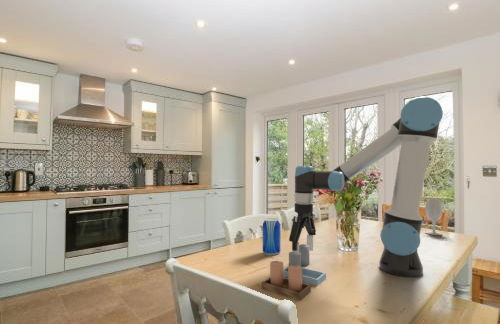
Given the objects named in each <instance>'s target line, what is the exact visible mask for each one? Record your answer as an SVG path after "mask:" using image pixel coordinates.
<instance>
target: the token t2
mask: <svg viewBox="0 0 500 324" xmlns="http://www.w3.org/2000/svg"><path fill="white" fill-rule="evenodd" d="M287 267H288V278H287V279H288V290H292V291H295V292H298V293H300V292H301V291H302V283H303V282H302V267H303V266H299V265H290V266H289V265H288V266H287Z"/></svg>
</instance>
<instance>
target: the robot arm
mask: <svg viewBox="0 0 500 324" xmlns="http://www.w3.org/2000/svg"><path fill="white" fill-rule="evenodd" d="M443 115H444V112H443V108H442V106H441V104H440V103H439V102H438V100H436V99H434V98H433V97H429V96H418V97H414V98H412V99H410V100H409V101H408V102H406V103H405V104H404V106H403V107H402V109H401V111H400V117H399V118H398V120H397V121H395V122H394V123H393V124H391V127H390V129H388V130H387V131H386V132H384V133H382V135H380V136H379V137H377V138H376V139H375V140H373V141H372V142H370V143H369V144H368V145H366V146H365V147H363V148H362V149H361V150H359V151H358V152H357V153H355V154H353V156H351V157H350V158H348V159H347V160H345V161H344V162H343V163H341V164H340V165H339V166H337V167H335V168H334V169H332V170H329V171H327V170H325V171H324V170H322V171H321V170H318V171H317V170H315V169H314V166H311V165H297V166H296V167H295V170H294V171H295V173H294V194H293V196H294V212H295V213H297V215H296V216H295V215H293V218H292V223H291V224H292V226H291V230H290V233H289V239H288V241H289V242H291V252H299V245H300V242H299V239H300V237H301V234H302V231H303V228H305V230H306V232H307V234H306V245H309V252H310V251H311V252H313V251H314V236H316V235H317V233H316V232H317V231H316V225H315V221H314V213H313V212H314V204H313V202H314V190H323V191H331V192H332V191H333V192H335V191H336V192H337V191H340V192H341V191H343V190H344V187H345V185H346V183H348V182H349V181H350V180H351V179H353V178H355V177H356V176H358V175H359V174H361V173H362V172H364V171H366V169H368V168H370V167H371V166H373V165H374V164H375V163H377V162H378V161H380V160H381V159H383V158H385V157H386V156H387V155H389V154H390V153H392V152H393V151H395V150H396V149H398V148H399V147H400V150H399V156H398V162H397V167H396V168H397V169H396V173H395V174H396V175H395V178H394V186H393V191H392V197H391V204H390V207H389V208H388V209H386V210H385V211H384V212H383V215H382V216H383V217H382V218H383V223H382V229H381V231H380V239H381V242H382V245H383V250H382V252H381V256H380V259H379V264H378V265H379V269H380V270H382V271H384V272H386V273H388V274H391V275H396V276H399V277H407V278H408V277H409V278H411V277H412V278H413V277H414V278H415V277H420V276H422V275H423V274H424V267H423V264H422V261H421V259H420V256H419V254H418V253H419V252H418V248H419V247H420V245H421V236H420V235H421V230H422V225H423V224H422V223H423V217H422V216H421V214H420V213H419V211H420V210H419V209H420V206H421V199H422V194H423V188H424V182H425V176H426V170H427V165H428V160H429V154H430V148H431V145H432V143H434V142H435V141H437V139H438V135H439V134H438V133H439V127H440V122H441V120H442V119H443Z"/></svg>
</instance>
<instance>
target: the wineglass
mask: <svg viewBox="0 0 500 324" xmlns="http://www.w3.org/2000/svg"><path fill="white" fill-rule="evenodd" d="M424 211H425V212H424V213H425V215H426V218H427V219H428V220H430V221H431V222H432V230H427V231H425V234H427V235H432V236H443V235H444V233H443V232H440V231H436V222H437V221H439V220H440V219H441V218H442V216H443V207H442V203H441V200H440V199H438V198H437V199H436V198H427V200H426V203H425V210H424Z"/></svg>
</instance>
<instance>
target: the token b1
mask: <svg viewBox="0 0 500 324" xmlns="http://www.w3.org/2000/svg"><path fill="white" fill-rule="evenodd" d="M290 265H299V266H301V253H299V252H292V251H289V252H288V266H290ZM301 267H302V266H301Z"/></svg>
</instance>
